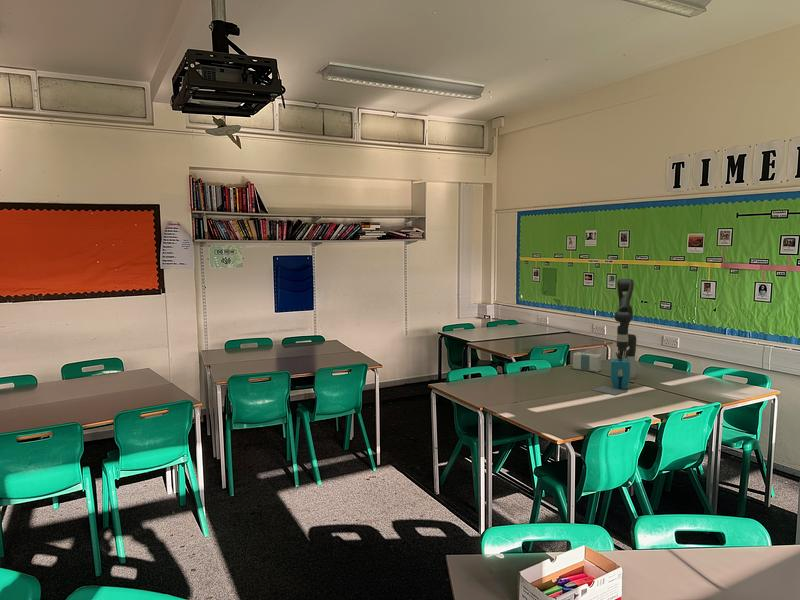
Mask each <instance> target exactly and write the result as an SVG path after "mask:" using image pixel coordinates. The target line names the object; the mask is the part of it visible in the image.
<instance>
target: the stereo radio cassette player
mask: <svg viewBox="0 0 800 600" xmlns="http://www.w3.org/2000/svg"><path fill="white" fill-rule="evenodd" d="M598 347H599V348H600V346H598ZM595 349H596V347H594V348H591V349H589V350H587V351H584V352H579V351H577V352H576V351H575V352H574V353H572V368H573V369H574V370H580V371H588V372H596V373H599V372H600V371H601V370H602V369H601V368H602V354H597V353H589V351H593V350H595ZM587 352H588V353H587Z"/></svg>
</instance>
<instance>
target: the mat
mask: <svg viewBox="0 0 800 600" xmlns="http://www.w3.org/2000/svg"><path fill="white" fill-rule="evenodd" d="M591 391H594V392H598V393H602V394H606V395H611V396H619V395H623V394H625V393H627V392H629V390H626V389H620V388H618V389H617V388H613V386H607V385H603V386H599V387H596V388H592V389H591Z"/></svg>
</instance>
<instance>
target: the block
mask: <svg viewBox="0 0 800 600" xmlns="http://www.w3.org/2000/svg"><path fill="white" fill-rule="evenodd" d="M619 371H621V372H622V371H623V374H622V373H621V374H622V376H621V375H618V373H619ZM629 378H630V360H621V359H618V358H617V359H615V358H612V359H610V381H611V385H612V387H613V388H617V389H619V388H621V389H622V390H626V389H628V385H629V382H630V379H629Z"/></svg>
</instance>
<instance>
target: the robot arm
mask: <svg viewBox="0 0 800 600" xmlns="http://www.w3.org/2000/svg"><path fill="white" fill-rule="evenodd" d="M616 288H617V296H618V308H617V311H616V312H615V314H614V320H615V322H617V323H619V325H618V326H617V328H616V331H617V332H616V333H617V334H616V347H617V352H615V356H616V357H617V359H621V360H630V378H629V380H635V379H636V352H637V336H636V335H635V334H631V333H629V325H630V322H632V320H633V317H634V314H633V313H634V311H633V307H632V305H631V298H632V295H633V291H634V288H635V284H634V280H633V278H620V279H617V281H616ZM624 292H626V293H625V294H624ZM627 348H628V349H627ZM622 374H623V371H622V370H621V375H620V376H622Z"/></svg>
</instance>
